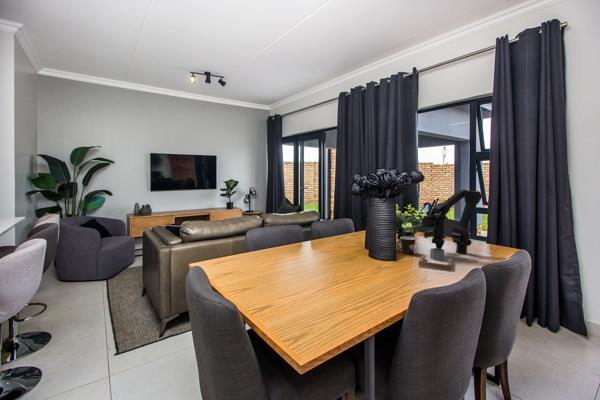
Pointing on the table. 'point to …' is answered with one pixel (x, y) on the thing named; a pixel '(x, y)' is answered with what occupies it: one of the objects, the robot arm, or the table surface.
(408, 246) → the coffee mug
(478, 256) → the table surface
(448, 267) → the corral
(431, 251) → the tumbler
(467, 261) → the felt coaster
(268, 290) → the table surface
